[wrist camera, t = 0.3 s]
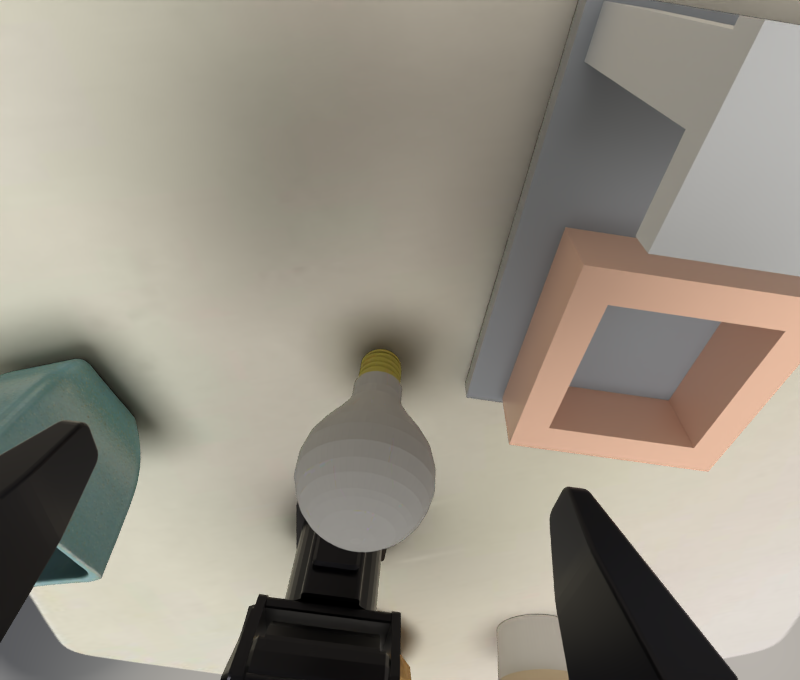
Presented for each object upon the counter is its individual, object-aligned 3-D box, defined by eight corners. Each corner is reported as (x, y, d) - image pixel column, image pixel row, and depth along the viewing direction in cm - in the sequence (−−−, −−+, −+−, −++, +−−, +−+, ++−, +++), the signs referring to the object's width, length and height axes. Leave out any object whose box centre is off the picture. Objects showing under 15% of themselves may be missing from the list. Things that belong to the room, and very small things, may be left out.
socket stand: (705, 417, 26) (818, 610, 18) (465, 383, 26) (477, 566, 18) (980, 55, 16) (1519, 146, 8) (582, -12, 15) (733, 14, 7)
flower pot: (94, 319, 24) (-47, 464, 17) (184, 435, 30) (104, 583, 22) (-42, 348, 26) (-218, 490, 19) (66, 452, 31) (-42, 595, 24)
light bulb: (434, 311, 23) (432, 495, 15) (437, 395, 26) (437, 581, 18) (320, 315, 23) (260, 493, 15) (338, 396, 27) (296, 578, 19)
